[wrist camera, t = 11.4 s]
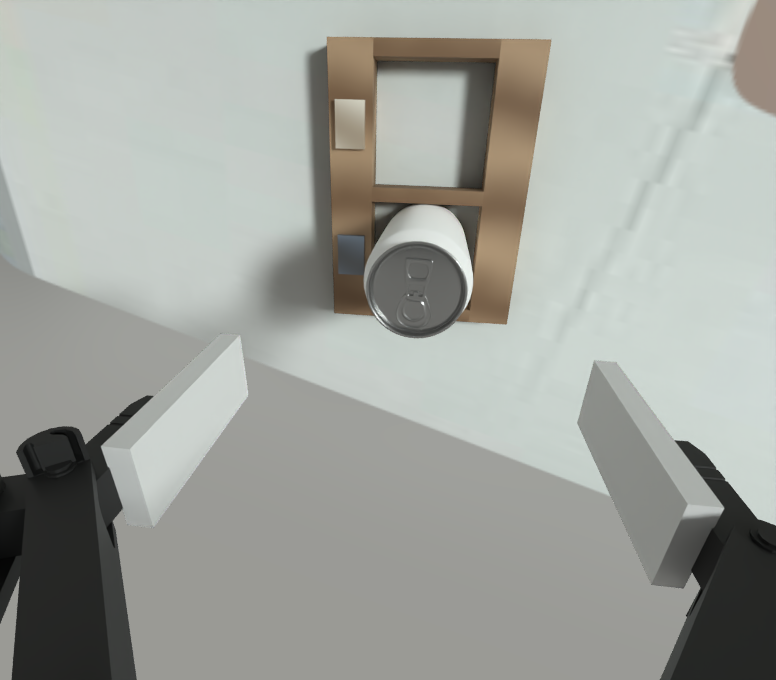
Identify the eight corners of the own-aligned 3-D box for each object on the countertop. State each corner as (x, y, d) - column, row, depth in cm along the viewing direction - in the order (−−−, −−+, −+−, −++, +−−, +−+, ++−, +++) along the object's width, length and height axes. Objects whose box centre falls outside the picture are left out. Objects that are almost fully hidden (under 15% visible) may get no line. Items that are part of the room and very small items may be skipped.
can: (381, 277, 36) (355, 338, 26) (387, 197, 34) (361, 227, 23) (458, 286, 36) (465, 351, 25) (471, 205, 33) (485, 239, 22)
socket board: (333, 42, 30) (325, 35, 27) (544, 45, 28) (553, 38, 26) (339, 304, 38) (333, 314, 36) (503, 315, 37) (507, 326, 35)
